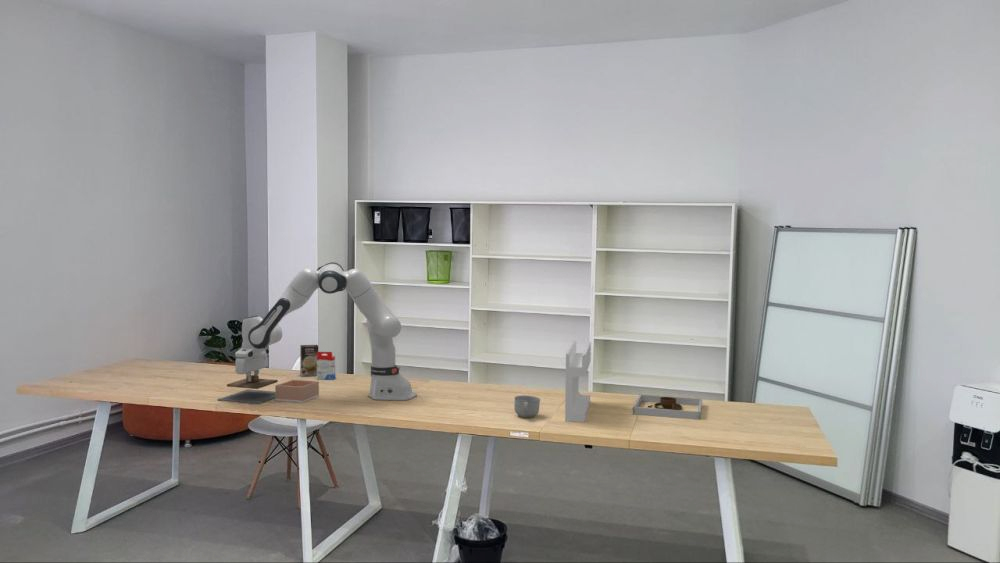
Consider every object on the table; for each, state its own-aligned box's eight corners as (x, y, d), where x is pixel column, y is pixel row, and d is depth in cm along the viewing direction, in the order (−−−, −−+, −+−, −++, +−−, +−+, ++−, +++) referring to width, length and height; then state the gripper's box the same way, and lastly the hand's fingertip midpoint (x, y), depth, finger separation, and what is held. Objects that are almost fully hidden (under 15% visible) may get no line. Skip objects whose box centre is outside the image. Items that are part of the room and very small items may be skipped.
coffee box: (300, 377, 391) (300, 346, 390) (300, 374, 397) (299, 345, 396) (318, 376, 394) (318, 346, 393) (317, 373, 400) (317, 344, 399)
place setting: (691, 409, 330) (692, 396, 330) (678, 419, 313) (678, 405, 313) (653, 404, 339) (654, 391, 339) (638, 413, 322) (638, 400, 322)
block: (572, 401, 340) (573, 341, 338) (589, 402, 339) (590, 341, 337) (565, 421, 306) (565, 354, 304) (584, 422, 304) (585, 354, 302)
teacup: (518, 412, 321) (518, 393, 320) (542, 414, 318) (542, 395, 317) (509, 420, 307) (509, 401, 307) (534, 422, 304) (534, 403, 304)
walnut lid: (277, 382, 350) (277, 373, 350) (257, 389, 335) (257, 380, 335) (248, 379, 355) (248, 371, 355) (226, 386, 340) (226, 377, 339)
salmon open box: (318, 396, 348) (318, 381, 348) (302, 402, 335) (302, 387, 334) (292, 394, 352) (292, 379, 352) (275, 400, 339) (275, 385, 338)
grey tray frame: (702, 405, 335) (702, 398, 335) (700, 419, 310) (700, 412, 310) (639, 400, 343) (639, 394, 343) (632, 414, 318) (632, 407, 318)
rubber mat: (287, 393, 353) (287, 392, 353) (259, 404, 332) (259, 402, 332) (247, 390, 359) (247, 389, 359) (217, 400, 338) (217, 399, 338)
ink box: (335, 378, 389) (335, 350, 388) (332, 380, 384) (332, 352, 383) (319, 377, 390) (319, 350, 389) (316, 379, 385) (316, 351, 384)
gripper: (259, 347, 355) (260, 375, 356) (232, 353, 335) (233, 384, 336) (271, 347, 353) (271, 376, 354) (244, 354, 333) (245, 385, 334)
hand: (252, 380), depth 345 cm, fingers closed on walnut lid, 2 cm apart
